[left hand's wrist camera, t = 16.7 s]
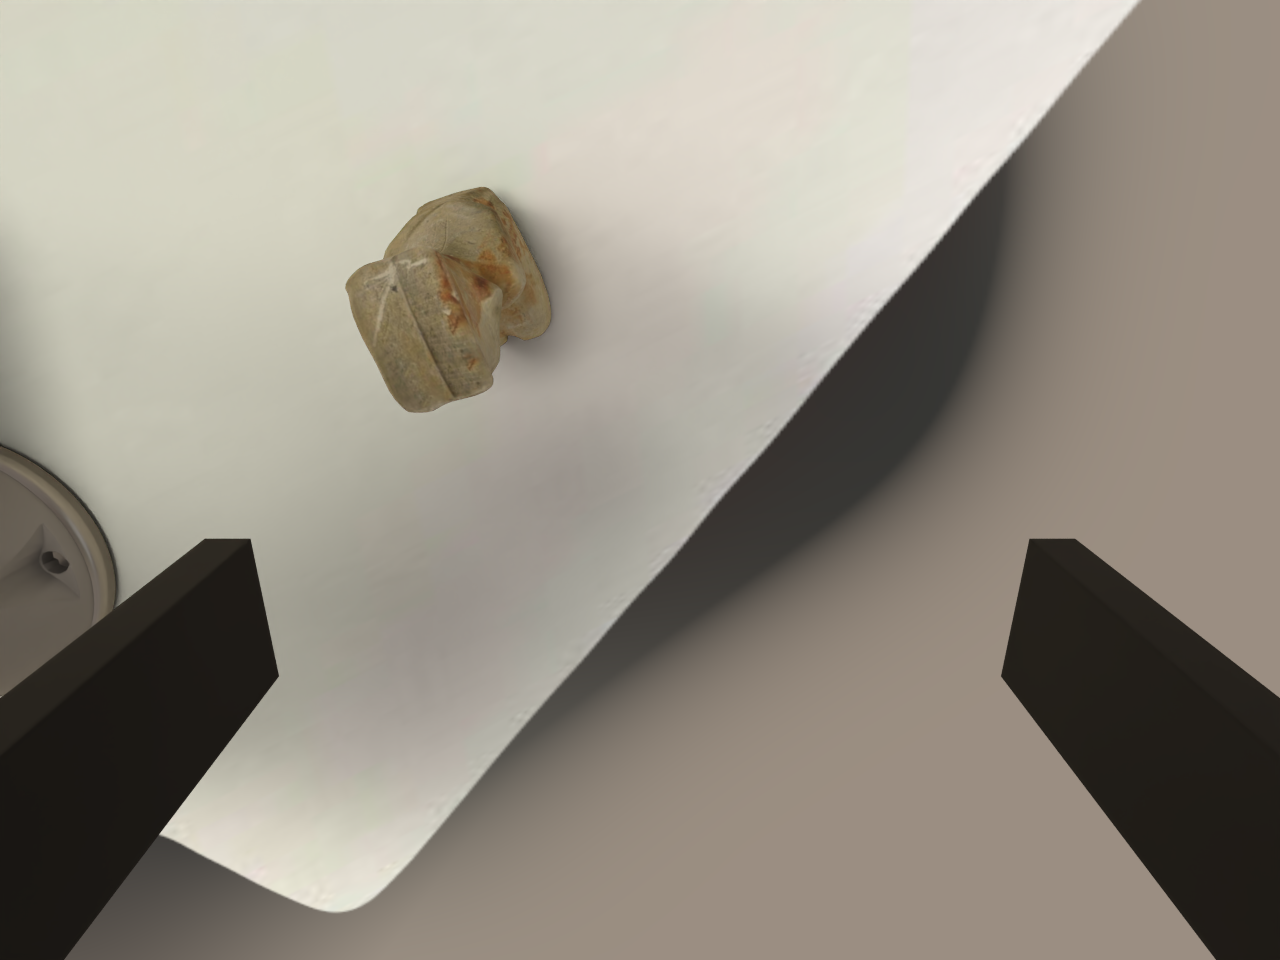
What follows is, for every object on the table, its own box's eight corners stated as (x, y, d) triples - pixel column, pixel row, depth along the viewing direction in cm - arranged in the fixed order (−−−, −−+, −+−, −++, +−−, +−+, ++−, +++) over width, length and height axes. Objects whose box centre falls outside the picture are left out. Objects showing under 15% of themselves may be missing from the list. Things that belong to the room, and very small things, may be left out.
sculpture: (462, 353, 38) (358, 442, 24) (413, 208, 36) (266, 213, 22) (570, 325, 38) (529, 400, 23) (529, 177, 35) (455, 161, 21)
